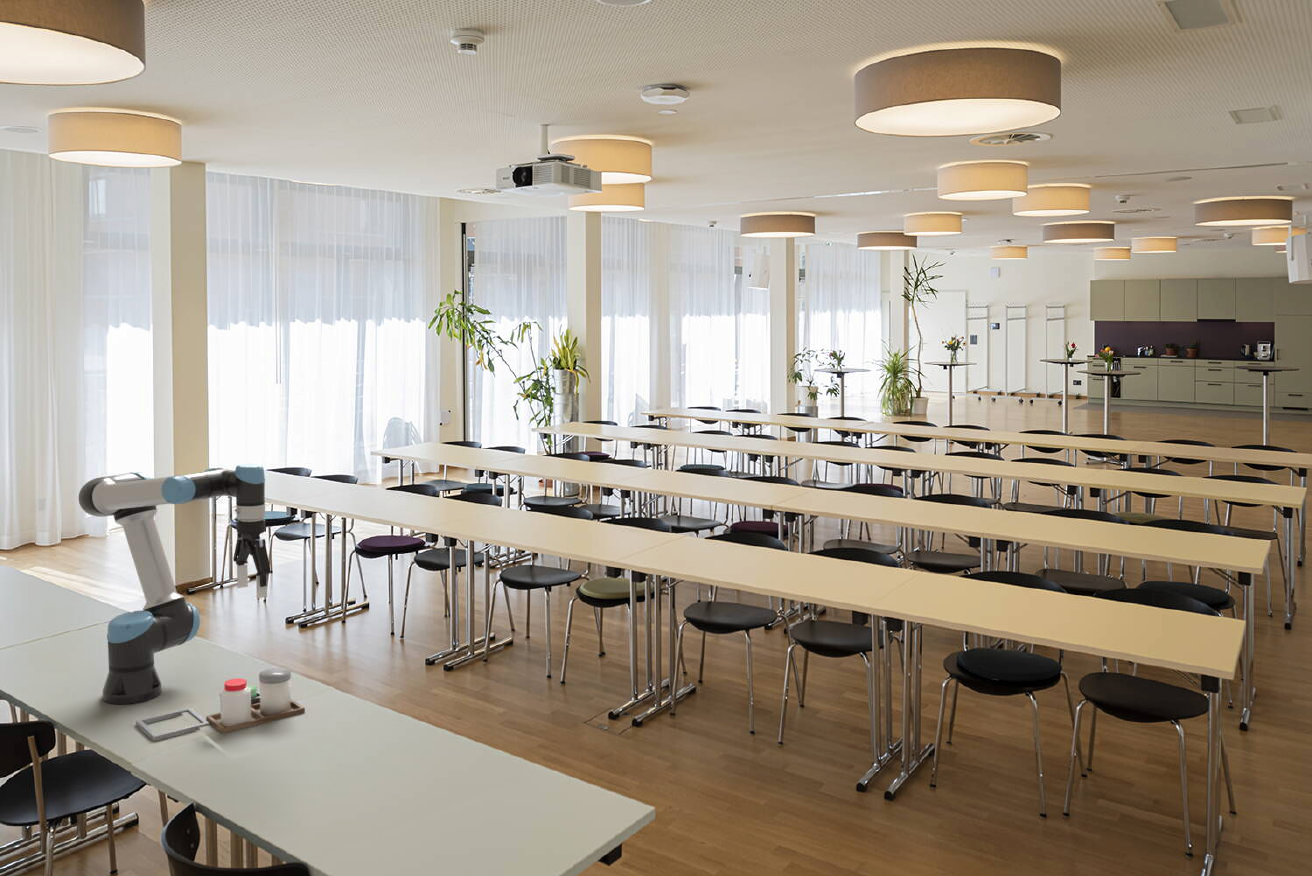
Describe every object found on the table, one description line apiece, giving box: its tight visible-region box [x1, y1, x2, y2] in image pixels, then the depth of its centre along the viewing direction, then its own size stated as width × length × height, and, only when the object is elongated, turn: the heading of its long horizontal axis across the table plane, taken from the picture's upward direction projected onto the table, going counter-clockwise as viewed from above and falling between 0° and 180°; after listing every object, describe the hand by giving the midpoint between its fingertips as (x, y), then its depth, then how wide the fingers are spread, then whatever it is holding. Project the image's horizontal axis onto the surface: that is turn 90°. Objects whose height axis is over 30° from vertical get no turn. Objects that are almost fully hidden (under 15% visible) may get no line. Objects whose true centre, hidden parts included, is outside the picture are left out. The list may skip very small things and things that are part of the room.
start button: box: [247, 685, 258, 698], centre depth 282 cm, size 4×4×4 cm
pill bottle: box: [219, 678, 251, 727], centre depth 269 cm, size 8×8×11 cm
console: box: [251, 689, 260, 705], centre depth 282 cm, size 7×7×3 cm
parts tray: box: [135, 707, 211, 742], centre depth 267 cm, size 14×14×1 cm
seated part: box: [258, 667, 292, 716], centre depth 276 cm, size 8×8×11 cm
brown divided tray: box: [205, 698, 306, 735], centre depth 273 cm, size 12×22×2 cm, turn 134°
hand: (252, 592), depth 284 cm, fingers open, 13 cm apart
